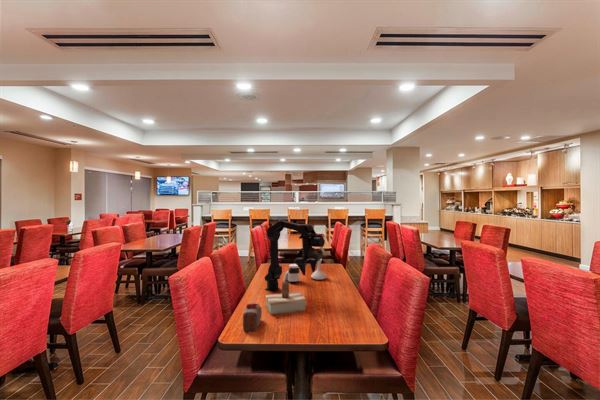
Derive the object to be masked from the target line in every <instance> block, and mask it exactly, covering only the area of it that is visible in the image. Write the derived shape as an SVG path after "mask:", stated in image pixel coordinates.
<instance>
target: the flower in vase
mask: <svg viewBox="0 0 600 400" xmlns="http://www.w3.org/2000/svg"><path fill="white" fill-rule="evenodd" d="M319 250H321V251H322V252H323V253H325V252H326V251H325V248H324V246H323V247H319ZM322 261H323V258H321V259H320V260H319V261H318V262H317V264H316V267H317V268H316V269H315V272H312V273H311V275H310V278H312V279H314V280H318V281H319V280H321V281H322V280H326V279H327V278H328V276H327V274H326V273H325V272H324V271H323V270H322V268H321V264H322Z"/></svg>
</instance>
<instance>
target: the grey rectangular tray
mask: <svg viewBox="0 0 600 400" xmlns="http://www.w3.org/2000/svg"><path fill="white" fill-rule="evenodd" d="M265 299H266V298H265ZM265 303H266V304H265V307H266V309H267V311H268V312H269V315H270V316H274V315H275V316H276V315H281V314H282V315H283V314H292V313H299V312H306V301H305V302H296V303H287V304H278V305H270V304H269V302H268V300H267V299H266V301H265Z"/></svg>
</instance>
